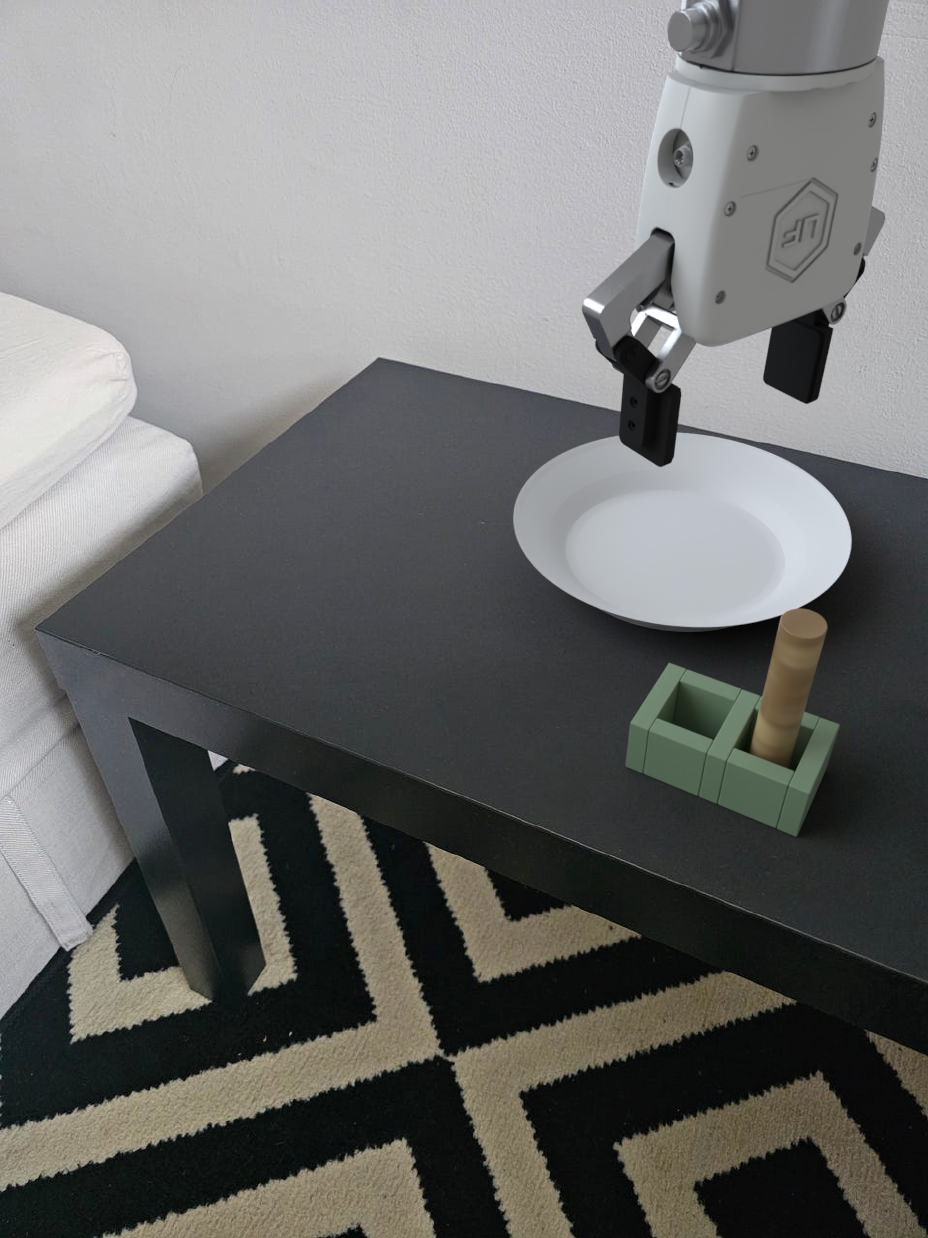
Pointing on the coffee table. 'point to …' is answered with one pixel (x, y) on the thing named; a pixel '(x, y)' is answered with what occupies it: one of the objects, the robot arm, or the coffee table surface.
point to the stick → (788, 685)
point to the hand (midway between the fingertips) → (719, 421)
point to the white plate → (682, 532)
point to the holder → (725, 749)
